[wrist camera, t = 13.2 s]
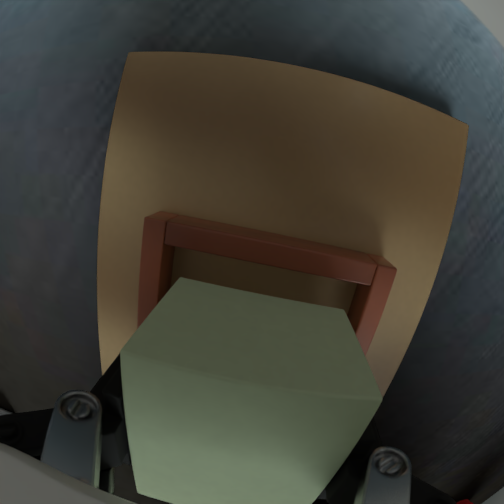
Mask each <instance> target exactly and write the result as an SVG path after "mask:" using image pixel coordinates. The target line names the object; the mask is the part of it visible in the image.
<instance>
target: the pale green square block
mask: <svg viewBox="0 0 504 504" xmlns="http://www.w3.org/2000/svg"><path fill="white" fill-rule="evenodd" d="M120 362H121V378H122V391H123V402H124V412H125V420H126V428H127V436H128V443H129V450H130V456H131V462H132V468H133V473H134V478H135V483H136V488H137V492H138V493H139V494H142V495H145V496H149V497H152V498H155V499H158V500H162V501H165V502H169V503H173V504H312V503H313V502H314V501H315V500H316V498H317V497H318V496H319V495H320V493H321V492H322V491H323V490H324V488H325V487H326V486H327V484H328V483H329V482H330V480H331V479H332V478H333V476H334V475H335V474H336V472H337V471H338V470H339V468H340V467H341V465H342V464H343V463H344V461H345V460H346V458H347V457H348V455H349V454H350V453H351V451H352V450H353V448H354V447H355V445H356V443H357V442H358V440H359V439H360V437H361V436H362V434H363V433H364V431H365V429H366V428H367V426H368V424H369V423H370V421H371V419H372V418H373V416H374V414H375V413H376V411H377V409H378V407H379V406H380V404H381V402H382V399H383V397H382V395H381V392H380V390H379V388H378V385H377V383H376V380H375V378H374V376H373V373H372V371H371V369H370V366H369V364H368V362H367V359H366V357H365V355H364V353H363V350H362V348H361V346H360V343H359V341H358V339H357V337H356V335H355V332H354V330H353V328H352V326H351V324H350V321H349V319H348V317H347V315H346V313H345V311H344V310H343V309H338V308H332V307H327V306H321V305H316V304H310V303H305V302H299V301H294V300H289V299H283V298H278V297H273V296H268V295H263V294H258V293H253V292H248V291H243V290H238V289H233V288H229V287H224V286H219V285H214V284H210V283H205V282H201V281H196V280H192V279H187V278H183V277H180V278H179V279H178V280H177V281H176V282H175V284H174V285H173V286H172V287H171V288H170V290H169V291H168V292H167V293H166V294H165V296H164V297H163V298H162V299H161V301H160V302H159V303H158V304H157V305H156V307H155V308H154V309H153V310H152V312H151V313H150V314H149V315H148V316H147V318H146V319H145V320H144V321H143V323H142V324H141V325H140V326H139V328H138V329H137V330H136V331H135V333H134V334H133V335H132V336H131V338H130V339H129V340H128V341H127V343H126V344H125V345H124V346H123V348H122V349H121V351H120Z"/></svg>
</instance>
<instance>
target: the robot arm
mask: <svg viewBox="0 0 504 504" xmlns="http://www.w3.org/2000/svg"><path fill="white" fill-rule="evenodd" d="M122 463H125V464H128V465H130V464H131V456H130V450H129V443H128V436H127V428H126V420H125V412H124V402H123V391H122V378H121V362H120V353H119V355H118V356H117V357H116V359H115V360H114V361H113V362H112V364H111V365H110V366H109V368H108V369H107V370H106V372H105V373H104V374H103V375H102V377H101V378H100V379H99V381H98V382H97V383H96V385H95V386H94V387H93V389H92V390H91V391H90V392H88V391H84V390H70V391H67V392H65V393H63V394H62V395H60V396H59V397H58V399H57V401H56V403H55V406H54V408H52V409H46V410H39V411H31V412H23V413H15V414H5V415H1V416H0V504H137V503H134V502H131V501H128V500H125V499H123V498H120V497H117V496H115V495H114V468H115V467H116V466H120V465H122ZM316 499H327V502H328V503H329V504H457V503H456V502H455V500H454V499H453V498H452V497H450V496H449V495H447V494H445V493H444V492H442V491H440V490H438V489H436V488H434V487H433V486H431V485H429V484H427V483H425V482H424V481H422V480H420V479H418V478H417V477H415V476H413V475H412V474H411V462H410V460H409V458H408V456H407V455H406V454H405V453H404V452H402V451H401V450H399V449H397V448H394V447H389V446H382V443H381V440H380V437H379V434H378V431H377V428H376V425H375V422H374V419H373V418H372V419H371V421H370V423H369V424H368V426H367V428H366V429H365V431H364V433H363V434H362V436H361V437H360V439H359V440H358V442H357V443H356V445H355V447H354V448H353V450H352V451H351V453H350V454H349V455H348V457H347V458H346V460H345V461H344V463H343V464H342V465H341V467H340V468H339V470H338V471H337V472H336V474H335V475H334V476H333V478H332V479H331V480H330V482H329V483H328V484H327V486H326V487H325V488H324V490H323V491H322V492H321V493H320V495H319V496H318V497H317V498H316Z"/></svg>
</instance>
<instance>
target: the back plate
mask: <svg viewBox="0 0 504 504" xmlns="http://www.w3.org/2000/svg"><path fill="white" fill-rule="evenodd" d="M468 128H469V126H468V125H467V124H466V123H464V122H462V121H460V120H457V119H455V118H453V117H451V116H449V115H447V114H445V113H442V112H440V111H438V110H436V109H433V108H431V107H429V106H426V105H424V104H422V103H419V102H417V101H414V100H412V99H409V98H407V97H404V96H401V95H399V94H396V93H393V92H390V91H387V90H384V89H382V88H379V87H376V86H372V85H369V84H366V83H363V82H360V81H356V80H353V79H349V78H346V77H342V76H339V75H335V74H331V73H327V72H323V71H319V70H315V69H310V68H306V67H301V66H296V65H291V64H286V63H280V62H275V61H269V60H262V59H256V58H248V57H240V56H232V55H222V54H210V53H195V52H165V51H151V52H129V53H128V56H127V59H126V63H125V66H124V70H123V74H122V78H121V82H120V86H119V90H118V95H117V99H116V104H115V108H114V113H113V118H112V124H111V129H110V135H109V140H108V146H107V153H106V160H105V167H104V175H103V183H102V192H101V203H100V215H99V229H98V251H97V310H98V331H99V346H100V357H101V367H102V375H103V374H104V373H105V372H106V370H107V369H108V368H109V366H110V365H111V364H112V362H113V361H114V360H115V359H116V357H117V356H118V355H119V353H120V351H121V349H122V348H123V346H124V345H125V344H126V343H127V341H128V340H129V339H130V338H131V336H132V335H133V334H134V333H135V331H136V330H137V329H138V328H139V326H140V325H141V324H142V323H143V321H144V320H145V319H146V318H147V316H148V315H149V314H150V313H151V312H152V310H153V309H154V308H155V307H156V305H157V304H158V303H159V302H160V301H161V299H162V298H163V297H164V296H165V294H166V293H167V292H168V291H169V290H170V288H171V287H172V286H173V285H174V284H175V282H176V281H177V280H178V279H179V278H180V277H183V278H187V279H192V280H196V281H201V282H205V283H210V284H214V285H219V286H224V287H229V288H233V289H238V290H243V291H248V292H253V293H258V294H263V295H268V296H273V297H278V298H283V299H289V300H294V301H299V302H305V303H310V304H316V305H321V306H327V307H332V308H338V309H343V310H344V311H345V313H346V315H347V317H348V319H349V321H350V324H351V326H352V328H353V330H354V332H355V335H356V337H357V339H358V341H359V343H360V346H361V348H362V350H363V353H364V355H365V357H366V359H367V362H368V364H369V366H370V369H371V371H372V373H373V376H374V378H375V380H376V383H377V385H378V388H379V390H380V392H381V395H382V397H383V396H384V395H385V393H386V391H387V389H388V387H389V385H390V383H391V381H392V379H393V377H394V375H395V373H396V371H397V369H398V367H399V365H400V363H401V361H402V359H403V357H404V355H405V353H406V351H407V348H408V346H409V344H410V342H411V339H412V337H413V335H414V332H415V330H416V328H417V325H418V323H419V320H420V318H421V316H422V313H423V310H424V308H425V305H426V303H427V300H428V297H429V295H430V292H431V289H432V286H433V283H434V280H435V277H436V274H437V271H438V268H439V265H440V262H441V259H442V256H443V252H444V249H445V245H446V242H447V238H448V235H449V231H450V227H451V223H452V219H453V215H454V211H455V206H456V202H457V197H458V192H459V187H460V182H461V177H462V171H463V165H464V159H465V152H466V145H467V137H468Z"/></svg>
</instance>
